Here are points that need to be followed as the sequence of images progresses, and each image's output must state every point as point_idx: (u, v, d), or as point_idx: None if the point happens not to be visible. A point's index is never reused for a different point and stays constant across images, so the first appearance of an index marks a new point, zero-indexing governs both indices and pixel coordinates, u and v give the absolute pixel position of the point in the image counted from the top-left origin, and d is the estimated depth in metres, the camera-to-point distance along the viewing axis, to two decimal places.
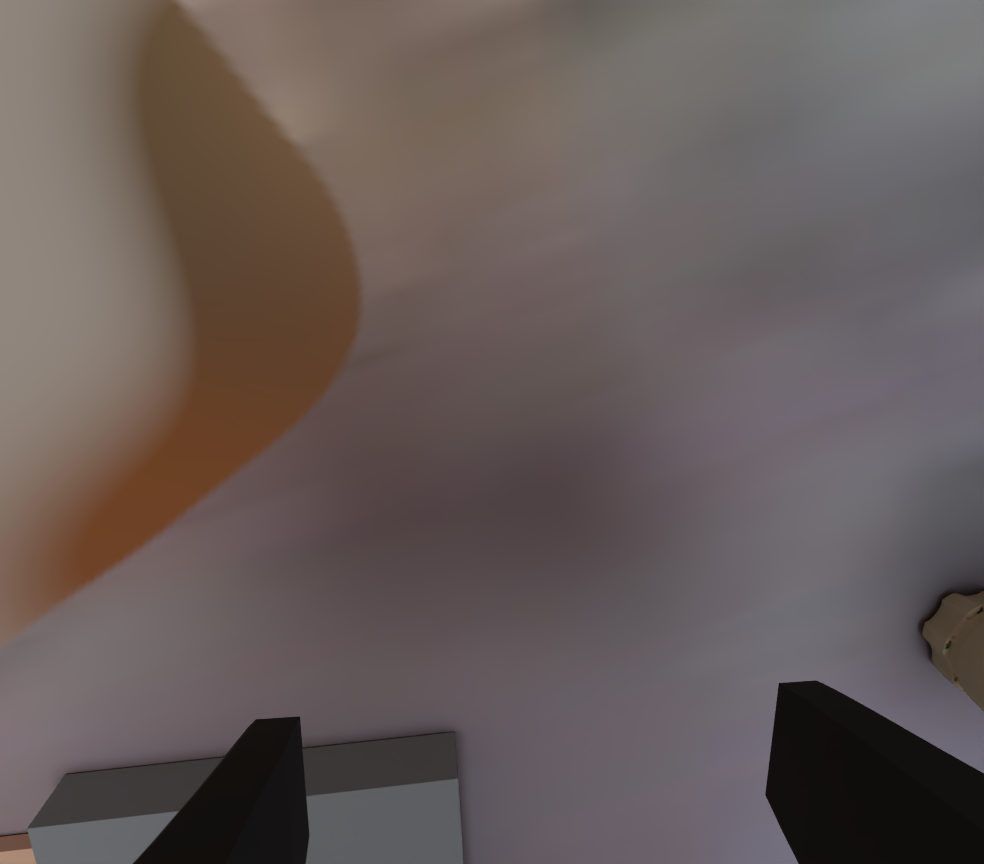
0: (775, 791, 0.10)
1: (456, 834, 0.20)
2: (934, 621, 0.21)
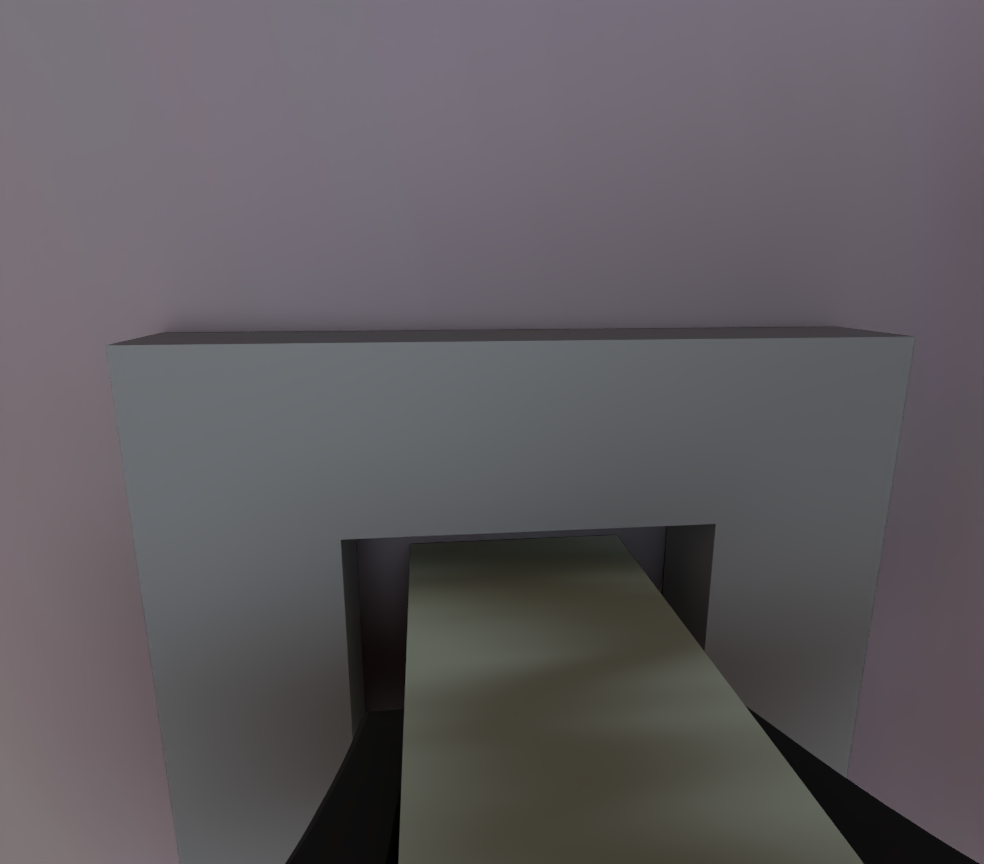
0: None
1: (258, 354, 0.09)
2: None
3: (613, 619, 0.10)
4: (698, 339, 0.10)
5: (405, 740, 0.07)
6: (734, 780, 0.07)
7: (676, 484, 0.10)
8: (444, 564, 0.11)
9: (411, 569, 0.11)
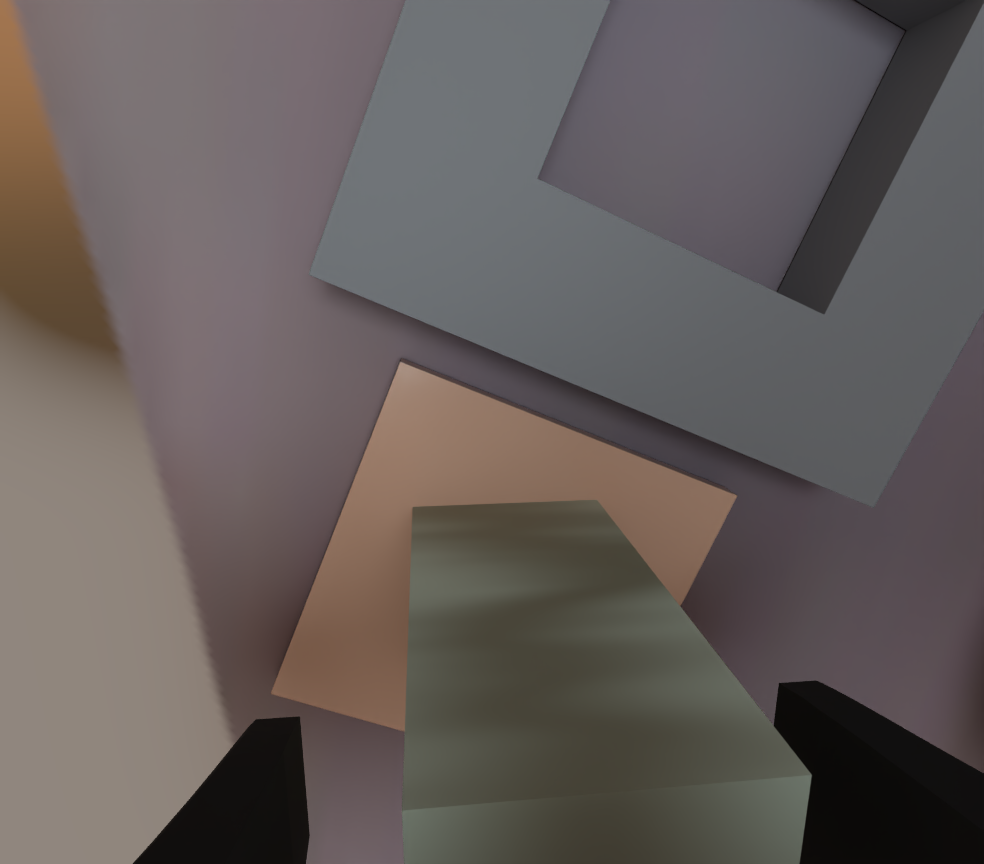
0: None
1: None
2: None
3: (588, 563, 0.11)
4: None
5: (409, 646, 0.08)
6: (677, 672, 0.08)
7: None
8: (442, 522, 0.13)
9: (413, 526, 0.13)
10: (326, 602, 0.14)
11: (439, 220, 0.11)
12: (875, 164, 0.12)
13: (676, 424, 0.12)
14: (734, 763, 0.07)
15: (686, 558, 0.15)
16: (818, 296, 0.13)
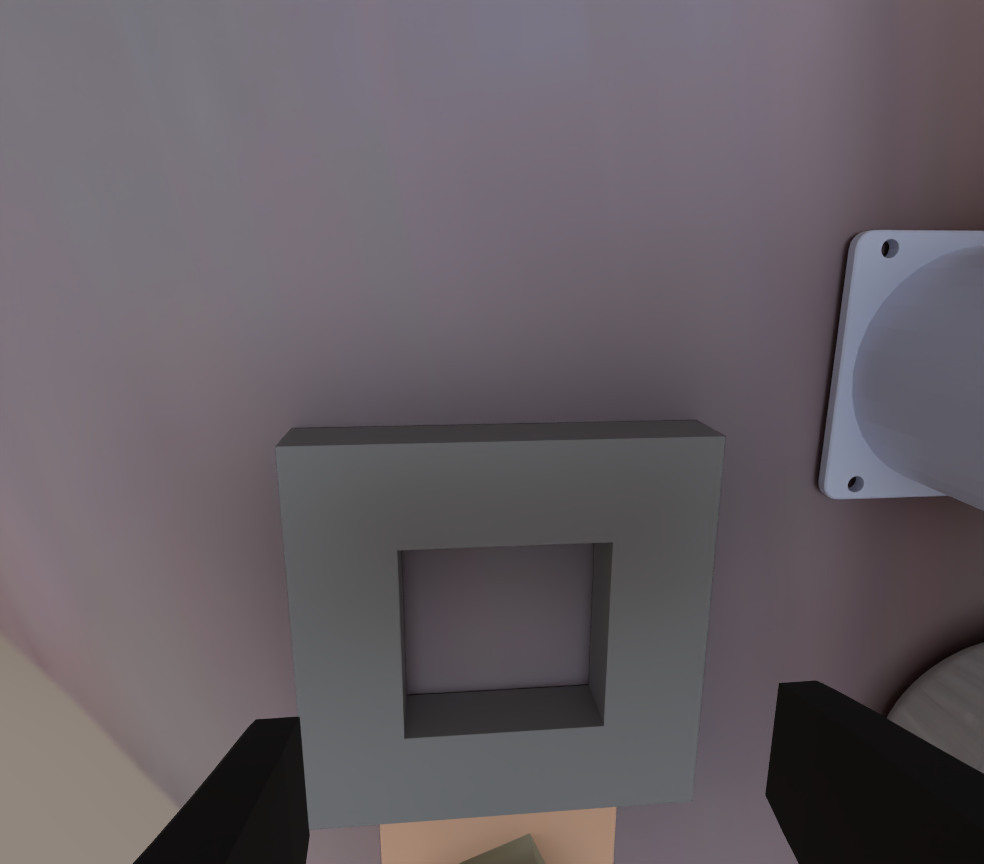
0: (774, 791, 0.10)
1: (355, 450, 0.17)
2: None
3: None
4: (598, 439, 0.17)
5: None
6: None
7: (588, 519, 0.18)
8: None
9: None
10: None
11: (362, 778, 0.19)
12: (601, 623, 0.20)
13: (545, 811, 0.20)
14: None
15: (602, 840, 0.22)
16: (600, 706, 0.20)
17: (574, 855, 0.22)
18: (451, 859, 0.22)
